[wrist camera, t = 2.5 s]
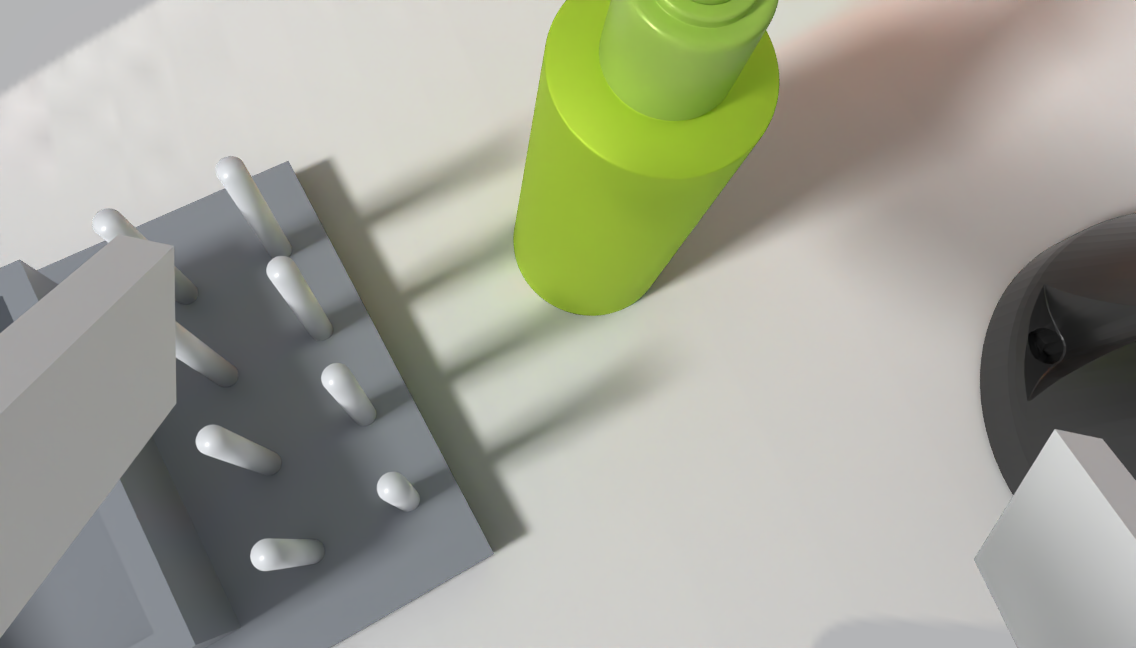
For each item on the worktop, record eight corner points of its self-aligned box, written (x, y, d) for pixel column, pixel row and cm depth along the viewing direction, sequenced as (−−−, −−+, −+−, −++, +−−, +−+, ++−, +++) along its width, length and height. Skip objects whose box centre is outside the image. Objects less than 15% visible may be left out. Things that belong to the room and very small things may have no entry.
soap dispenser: (617, 131, 35) (804, -365, 16) (686, 285, 34) (981, -51, 15) (480, 176, 34) (506, -298, 15) (548, 338, 33) (670, 49, 14)
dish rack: (294, 174, 33) (242, 59, 25) (492, 553, 31) (504, 557, 23) (-285, 429, 29) (-569, 386, 21) (-108, 897, 26) (-353, 1049, 18)
